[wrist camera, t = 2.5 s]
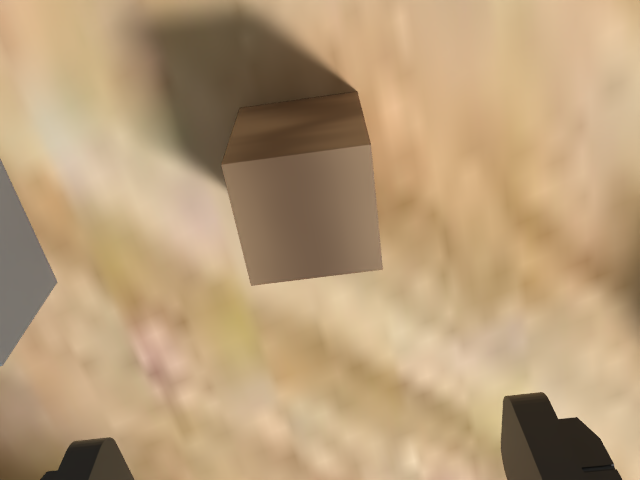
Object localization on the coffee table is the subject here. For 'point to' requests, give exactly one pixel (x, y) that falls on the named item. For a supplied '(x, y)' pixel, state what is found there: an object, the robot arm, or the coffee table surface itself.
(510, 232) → the coffee table surface
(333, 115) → the walnut block
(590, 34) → the coffee table surface
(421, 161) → the coffee table surface
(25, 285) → the tower base
